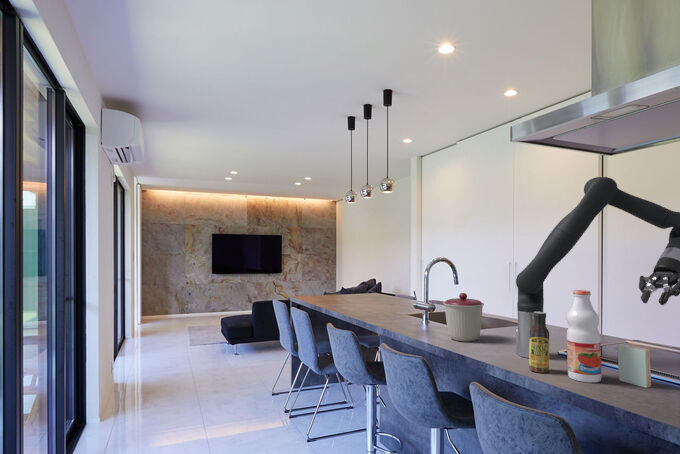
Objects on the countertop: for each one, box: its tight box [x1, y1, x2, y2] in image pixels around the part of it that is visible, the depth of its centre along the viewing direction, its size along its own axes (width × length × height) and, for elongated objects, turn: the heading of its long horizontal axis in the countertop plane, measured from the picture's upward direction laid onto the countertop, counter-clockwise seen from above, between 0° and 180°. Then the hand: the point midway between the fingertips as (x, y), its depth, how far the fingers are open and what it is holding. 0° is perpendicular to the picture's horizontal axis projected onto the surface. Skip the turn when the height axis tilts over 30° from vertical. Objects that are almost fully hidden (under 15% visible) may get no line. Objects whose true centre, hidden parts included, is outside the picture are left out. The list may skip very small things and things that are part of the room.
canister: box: [442, 292, 485, 343], centre depth 193 cm, size 18×18×21 cm
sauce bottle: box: [528, 311, 550, 374], centre depth 144 cm, size 7×6×20 cm
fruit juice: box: [566, 289, 602, 384], centre depth 136 cm, size 9×9×28 cm
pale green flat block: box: [617, 343, 652, 389], centre depth 131 cm, size 8×2×11 cm, turn 26°
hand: (652, 302), depth 136 cm, fingers open, 4 cm apart
